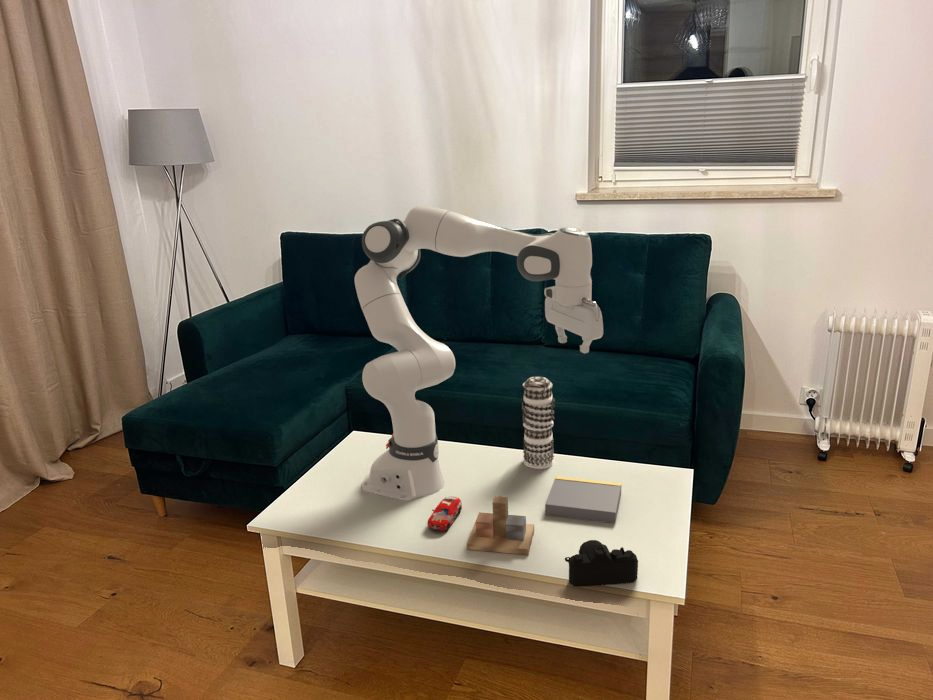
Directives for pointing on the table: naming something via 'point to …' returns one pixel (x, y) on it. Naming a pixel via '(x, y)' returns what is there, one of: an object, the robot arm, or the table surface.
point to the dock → (584, 499)
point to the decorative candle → (538, 422)
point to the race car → (445, 513)
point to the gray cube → (515, 527)
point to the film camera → (601, 566)
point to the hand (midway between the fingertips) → (573, 347)
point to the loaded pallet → (501, 542)
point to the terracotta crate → (484, 525)
